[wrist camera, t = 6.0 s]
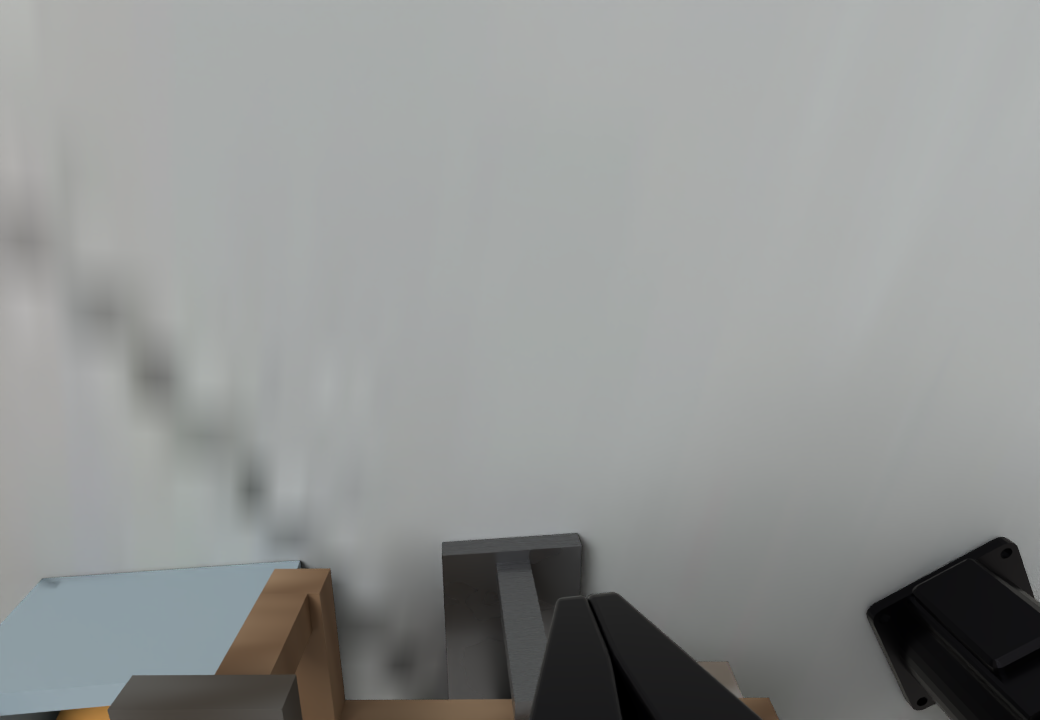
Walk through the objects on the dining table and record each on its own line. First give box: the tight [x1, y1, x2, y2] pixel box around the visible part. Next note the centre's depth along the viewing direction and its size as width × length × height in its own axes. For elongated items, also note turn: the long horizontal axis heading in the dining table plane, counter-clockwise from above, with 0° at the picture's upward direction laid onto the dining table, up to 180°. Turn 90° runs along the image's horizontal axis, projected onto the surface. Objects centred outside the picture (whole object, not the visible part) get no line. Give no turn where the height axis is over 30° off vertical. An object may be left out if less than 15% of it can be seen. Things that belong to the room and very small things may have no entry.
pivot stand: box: [442, 533, 582, 720], centre depth 21 cm, size 5×9×7 cm, turn 0°
